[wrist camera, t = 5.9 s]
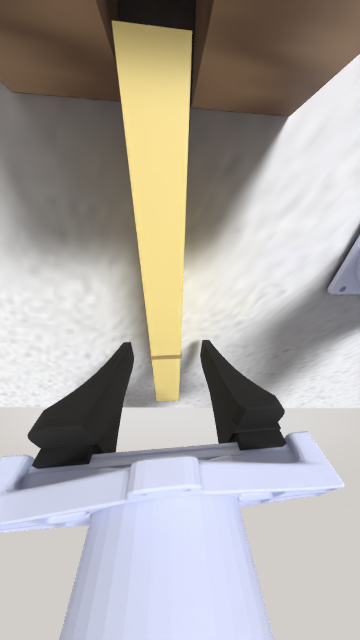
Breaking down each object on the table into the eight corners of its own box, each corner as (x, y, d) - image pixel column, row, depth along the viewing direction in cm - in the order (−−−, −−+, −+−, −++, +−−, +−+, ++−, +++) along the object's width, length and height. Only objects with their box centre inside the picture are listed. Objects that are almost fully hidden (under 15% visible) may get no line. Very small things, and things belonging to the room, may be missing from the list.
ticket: (178, 148, 8) (194, 30, 3) (175, 347, 15) (179, 400, 11) (144, 146, 7) (109, 19, 3) (159, 347, 15) (156, 401, 10)
